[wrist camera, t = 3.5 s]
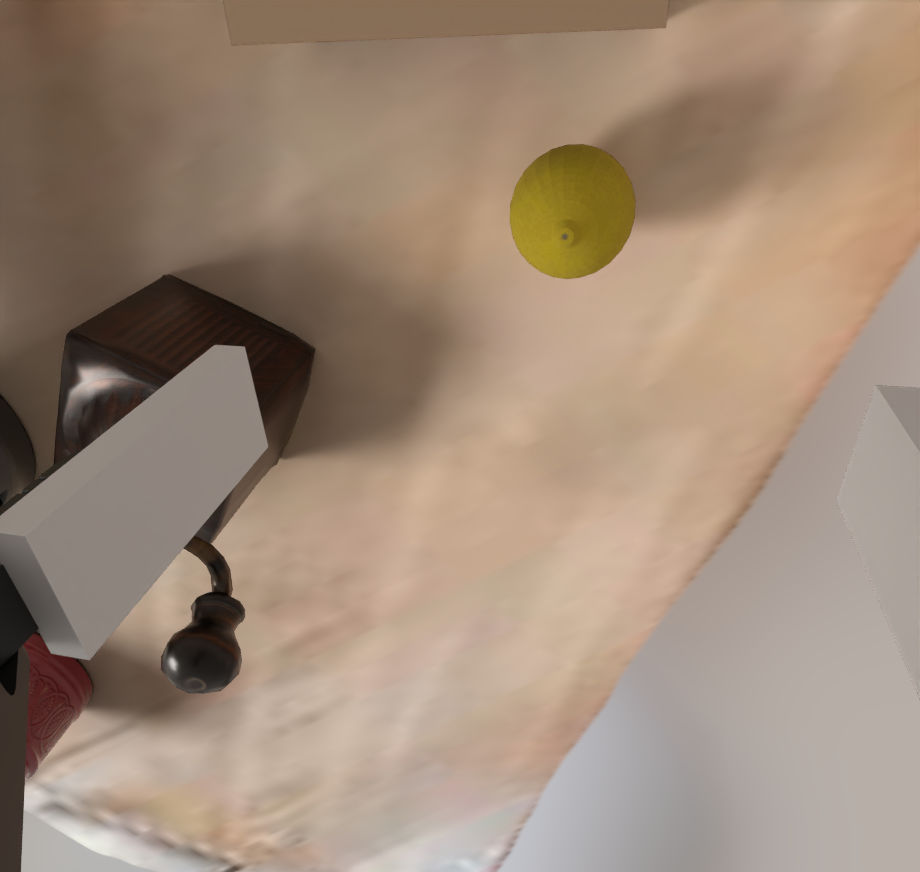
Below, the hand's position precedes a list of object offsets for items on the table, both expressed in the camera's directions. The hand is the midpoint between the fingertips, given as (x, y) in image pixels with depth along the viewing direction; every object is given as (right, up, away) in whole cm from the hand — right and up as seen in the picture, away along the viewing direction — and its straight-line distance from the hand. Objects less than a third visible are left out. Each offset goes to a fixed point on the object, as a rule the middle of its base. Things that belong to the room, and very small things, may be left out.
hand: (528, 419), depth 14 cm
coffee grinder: (-15, +3, +29) cm, 33 cm away
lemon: (+4, +12, +19) cm, 23 cm away
